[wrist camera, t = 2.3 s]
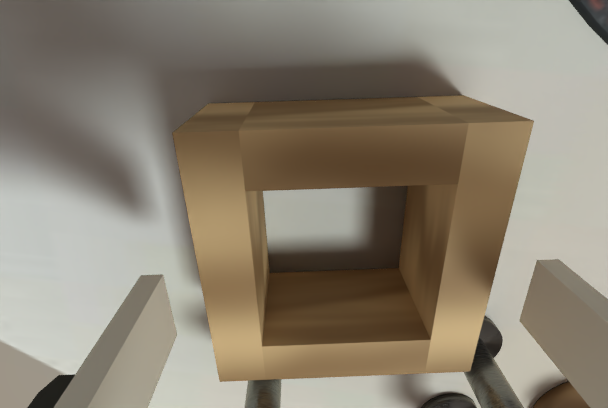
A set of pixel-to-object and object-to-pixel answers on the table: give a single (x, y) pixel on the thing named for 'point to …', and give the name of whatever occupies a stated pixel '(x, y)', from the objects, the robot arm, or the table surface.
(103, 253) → the table surface
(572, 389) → the peg stand
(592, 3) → the dark grey book
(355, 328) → the wooden square frame
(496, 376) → the gray metal stand
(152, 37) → the table surface
